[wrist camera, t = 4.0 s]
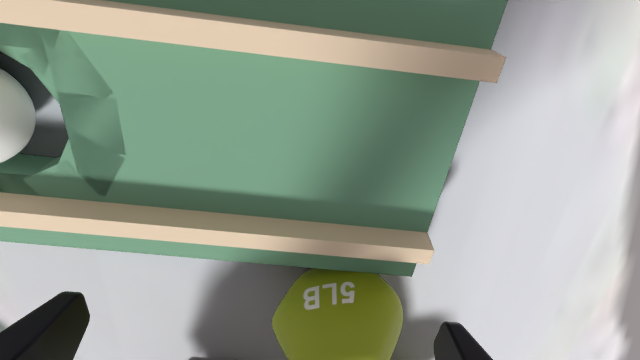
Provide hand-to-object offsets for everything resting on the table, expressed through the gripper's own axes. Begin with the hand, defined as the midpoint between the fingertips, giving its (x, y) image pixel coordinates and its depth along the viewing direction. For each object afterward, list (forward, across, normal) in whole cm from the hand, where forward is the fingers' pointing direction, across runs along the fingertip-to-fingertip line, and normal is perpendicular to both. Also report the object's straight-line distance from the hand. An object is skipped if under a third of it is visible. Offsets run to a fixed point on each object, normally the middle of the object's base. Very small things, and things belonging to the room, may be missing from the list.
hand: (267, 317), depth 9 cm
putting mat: (+12, +6, 0) cm, 13 cm away
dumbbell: (+12, -6, +16) cm, 21 cm away
